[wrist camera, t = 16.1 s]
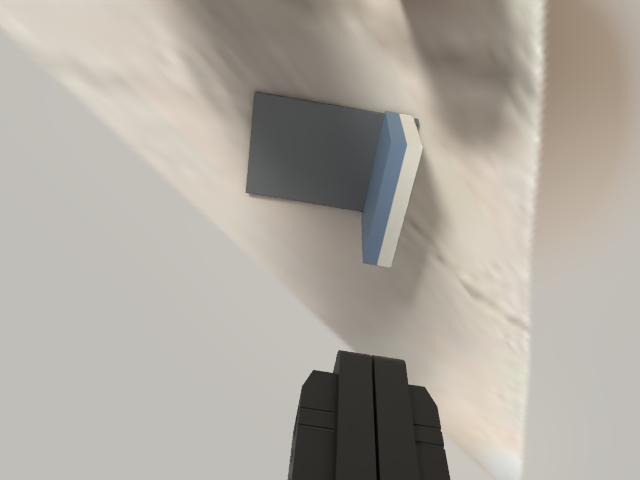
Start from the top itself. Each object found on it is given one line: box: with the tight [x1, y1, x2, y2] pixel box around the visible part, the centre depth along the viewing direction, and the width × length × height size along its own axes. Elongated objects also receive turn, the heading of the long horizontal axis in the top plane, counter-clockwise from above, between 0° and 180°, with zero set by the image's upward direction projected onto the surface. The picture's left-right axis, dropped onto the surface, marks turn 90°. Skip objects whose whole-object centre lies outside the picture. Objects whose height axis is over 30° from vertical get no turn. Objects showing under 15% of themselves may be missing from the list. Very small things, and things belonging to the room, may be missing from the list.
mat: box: [246, 92, 418, 212], centre depth 40 cm, size 8×12×1 cm, turn 81°
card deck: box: [362, 111, 423, 267], centre depth 37 cm, size 6×2×9 cm
